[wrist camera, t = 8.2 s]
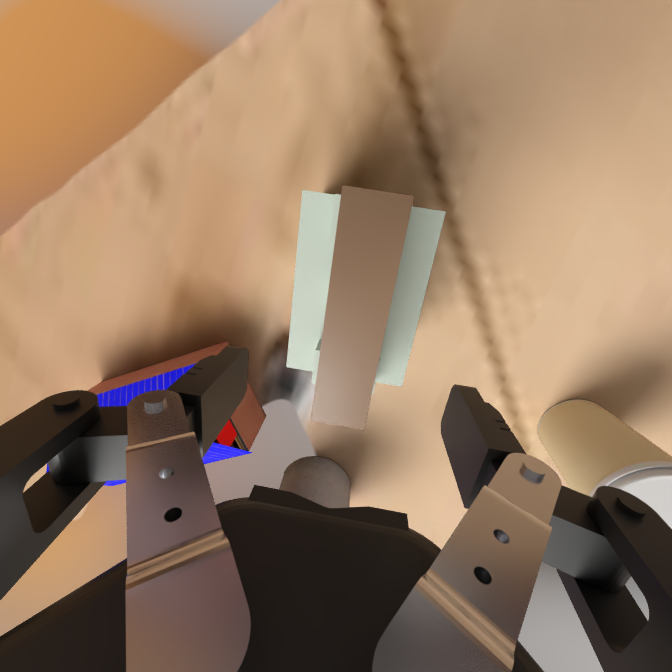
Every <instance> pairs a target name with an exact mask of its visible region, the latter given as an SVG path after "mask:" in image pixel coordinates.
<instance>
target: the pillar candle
mask: <svg viewBox="0 0 672 672" xmlns="http://www.w3.org/2000/svg"><path fill="white" fill-rule="evenodd" d="M279 490H284V491H289V492H293V493H295V494H297V495H299V496H302V497H304V498H306V499H308V500H311V501H313V502H315V503H318V504H320V505H322V506H324V507H327V508H348V507H349V500H350V480H349V477H348V475H347V474H346V473H345V472H344V470H343V469H342V468H341V467H340V466H339V465H338V464H337V463H335V462H334V461H332V460H330V459H327V458H323V457H318V456H311V457H304V458H301V459H298V460H296V461H294V462H293V463H292V464H290V465H289V466H288V467H287V468H286V470H285V472H284V476H283V479H282V482H281V485H280V488H279Z"/></svg>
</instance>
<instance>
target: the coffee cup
mask: <svg viewBox="0 0 672 672" xmlns="http://www.w3.org/2000/svg"><path fill="white" fill-rule="evenodd" d="M538 436H539V439H540V441H541V443H542V445H543V446H544V448H545V450H546V451H547V453H548V454H549V456H550V458H551V459H552V461H553V463H554V464H555V466H556V467H557V469H558V471H559V472H560V474H561V475H562V477H563V479H564V480H565V482H566V483H567V485H568V486H569V488H570V489H572V490H575V491H577V492H580V493H582V494H585V495H588V496H590V497H592V496H593V495H594V493H595V491H596V490H597V488H598V487H600V486H611V487H615V488H618V489H621V490H623V491H626V492H628V493H630V494H632V495H634V496H635V497H637V498H639V499H640V500H642V501H643V502H645V503H646V504H647V505H649V506H650V507H651V508H652V509H653V510H655V511H656V512H657V513H658V514H659V516H660V517H661V518H662V519H663V520H664V521H665V522H666V523H667V525H668V526H669V527H670V528H671V529H672V457H671V456H670V455H669V454H667V453H666V452H665V451H663V450H662V449H660V448H659V447H658V446H656V445H655V444H653V443H652V442H651V441H649V440H648V439H646V438H645V437H644V436H642V435H641V434H639V433H638V432H637V431H635V430H634V429H632V428H631V427H629V426H628V425H627V424H625V423H624V422H622V421H621V420H620V419H618V418H617V417H615V416H614V415H612V414H611V413H610V412H608V411H607V410H605V409H604V408H602V407H601V406H599V405H598V404H596V403H594V402H591V401H588V400H582V399H575V400H568V401H564V402H561V403H559V404H557V405H555V406H553V407H552V408H550V409H549V410H547V412H545V414H544V415H543V416H542V417H541V419H540V421H539V424H538Z"/></svg>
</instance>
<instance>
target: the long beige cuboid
mask: <svg viewBox="0 0 672 672" xmlns="http://www.w3.org/2000/svg"><path fill="white" fill-rule="evenodd" d="M413 199H414V196H412V195H405V194H398V193H392V192H385V191H378V190H372V189H365V188H358V187H352V186H345V185H342V192H341V199H340V207H339V214H338V221H337V229H336V236H335V244H334V251H333V259H332V266H331V274H330V281H329V289H328V296H327V303H326V311H325V318H324V326H323V333H322V341H321V348H320V356H319V363H318V370H317V378H316V385H315V393H314V400H313V408H312V415H311V421H314V422H320V423H326V424H331V425H337V426H343V427H348V428H354V429H360V430H364V428H365V423H366V418H367V414H368V409H369V404H370V400H371V395H372V390H373V386H374V381H375V376H376V372H377V367H378V362H379V358H380V353H381V348H382V344H383V339H384V334H385V330H386V325H387V320H388V316H389V311H390V306H391V302H392V297H393V292H394V288H395V283H396V278H397V273H398V269H399V264H400V259H401V255H402V250H403V245H404V241H405V236H406V231H407V227H408V222H409V217H410V213H411V208H412V203H413Z"/></svg>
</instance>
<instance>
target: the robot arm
mask: <svg viewBox="0 0 672 672" xmlns="http://www.w3.org/2000/svg"><path fill="white" fill-rule="evenodd" d="M248 358H249V353H248V349H247V348H242V347H236V346H230V345H228V346H226V347H225V348H224V349H223V350H222V351H221V352H220V353H219V354H218V355H216V356H215V355H211V356H208V357H206V358H203V359H201V360H199V361H198V362H197V363H196V364H195V365H194V366H192V368H190V369H189V370H188V371H187V372H186V374H183V375H182V376H181V377H180V378H179V379H177V380H176V381H175V382H174V383H173V384H172V385H171V386H169V387H168V388H167V389H166V390H153V391H149V392H145V393H142V394H140V395H138V396H136V397H134V398H133V399H132V400H131V401H130V402H129V403H128V405H127V406H103V407H99V402H98V397H97V395H96V394H94V393H92V392H90V391H83V390H76V391H67V392H62V393H58V394H55V395H52V396H50V397H47V398H45V399H43V400H42V401H40V402H38V403H37V404H35V405H34V406H32V407H30V408H29V409H27V410H26V411H24V412H22V413H21V414H19V415H18V416H16V417H14V418H13V419H11V420H9V421H8V422H6V423H5V424H3V425H1V426H0V600H1V599H2V598H3V597H4V596H5V595H6V593H7V592H8V591H9V590H10V589H11V588H12V587H13V585H15V583H16V582H17V581H18V580H19V579H20V578H21V577H22V576H23V574H24V573H25V572H26V571H27V570H28V569H29V568H30V567H31V565H32V564H33V563H34V562H35V561H36V560H37V559H38V558H39V557H40V555H41V554H42V553H43V552H44V551H45V550H46V549H47V548H48V546H49V545H50V544H51V543H52V542H53V541H54V540H55V539H56V537H57V536H58V535H59V534H60V533H61V532H62V531H63V530H64V529H65V527H66V526H67V525H68V524H69V523H70V522H71V521H72V520H73V518H74V517H75V516H76V515H77V514H78V513H79V512H80V511H81V509H82V508H83V507H84V506H85V505H86V504H87V503H88V502H89V501H90V499H91V498H92V497H93V496H94V495H95V494H96V492H98V490H99V489H100V488H101V487H102V486H103V485H104V484H105V483H106V481H115V480H126V509H127V558H126V559H125V560H123V561H121V562H120V563H118V564H117V565H115V566H113V567H112V568H110V569H109V570H107V571H105V572H104V573H102V574H100V575H99V576H97V577H96V578H94V579H92V580H91V581H89V582H88V583H86V584H84V585H83V586H81V587H80V588H78V589H76V590H75V591H73V592H71V593H70V594H68V595H67V596H65V597H63V598H62V599H60V600H59V601H57V602H55V603H54V604H52V605H50V606H49V607H47V608H46V609H44V610H42V611H41V612H39V613H37V614H36V615H34V616H33V617H31V618H29V619H28V620H26V621H25V622H23V623H21V624H20V625H18V626H16V627H15V628H13V629H12V630H10V631H8V632H7V633H5V634H4V635H2V636H0V672H544V671H543V670H542V669H541V668H540V666H539V665H538V664H537V663H536V662H535V660H534V659H533V658H532V657H531V656H530V655H529V653H528V652H527V651H526V649H525V648H524V647H523V646H522V645H521V643H520V642H519V641H518V637H519V634H520V630H521V627H522V624H523V621H524V617H525V614H526V611H527V608H528V605H529V601H530V598H531V595H532V592H533V588H534V585H535V582H536V579H537V576H538V572H539V569H540V566H541V563H542V562H544V563H546V564H548V565H550V566H552V567H555V568H556V569H557V572H558V574H559V576H560V578H561V580H562V582H563V584H564V587H565V589H566V591H567V593H568V595H569V597H570V600H571V602H572V604H573V606H574V608H575V610H576V612H577V614H578V617H579V619H580V621H581V623H582V625H583V628H584V630H585V632H586V634H587V636H588V638H589V640H590V642H591V645H592V647H593V649H594V651H595V653H596V655H597V658H598V660H599V662H600V664H601V666H602V668H603V670H604V672H672V529H671V528H670V527H669V526H668V525H667V523H666V522H665V521H664V520H663V519H662V518H661V517H660V516H659V514H658V513H657V512H656V511H655V510H653V509H652V508H651V507H650V506H649V505H647V504H646V503H645V502H643V501H642V500H640V499H639V498H637V497H635V496H634V495H632V494H630V493H628V492H626V491H623V490H621V489H618V488H615V487H611V486H600V487H598V488H597V490H596V491H595V493H594V495H593V496H592V497H590V496H588V495H585V494H582V493H580V492H577V491H575V490H572V489H570V488H567V487H565V486H562V484H561V480H560V478H559V476H558V475H557V474H556V472H555V471H554V470H553V469H552V468H550V467H549V466H548V465H547V464H545V463H544V462H542V461H540V460H539V459H537V458H535V457H532V456H530V455H527V454H526V453H525V451H524V450H523V448H522V447H521V445H520V443H519V442H518V440H517V439H516V437H515V436H514V434H513V433H512V432H511V431H510V430H511V429H510V428H509V426H508V425H507V424H506V423H505V420H504V419H503V417H502V415H501V414H500V412H499V411H497V410H496V409H495V408H494V407H493V406H491V405H490V404H489V403H485V402H484V401H483V399H482V397H481V396H480V394H479V392H478V390H477V389H476V388H474V387H468V386H462V385H456V384H455V385H454V386H453V387H452V389H451V392H450V395H449V398H448V401H447V404H446V407H445V411H444V414H443V417H442V421H441V435H442V438H443V441H444V444H445V448H446V451H447V454H448V457H449V460H450V463H451V466H452V470H453V473H454V476H455V479H456V482H457V485H458V488H459V492H460V495H461V498H462V501H463V504H464V507H465V508H468V511H467V512H466V514H465V515H464V517H463V518H462V520H461V521H460V523H459V524H458V526H457V527H456V529H455V531H454V532H453V534H452V535H451V537H450V538H449V540H448V541H447V543H446V544H445V546H444V547H443V549H442V550H441V549H440V548H439V547H438V546H436V545H435V544H434V543H433V542H432V541H430V540H429V539H427V538H426V537H424V536H423V535H421V534H420V533H418V532H416V531H414V530H412V529H410V528H409V527H408V519H407V514H405V513H400V512H395V511H389V510H384V509H379V508H374V507H348V508H327V507H324V506H322V505H320V504H318V503H315V502H313V501H311V500H308V499H306V498H304V497H302V496H299V495H297V494H295V493H293V492H289V491H284V490H278V489H273V488H268V487H263V486H257V485H254V487H253V489H252V492H251V494H250V496H249V497H248V498H238V499H233V500H229V501H225V502H222V503H219V504H217V505H215V502H214V498H213V495H212V492H211V488H210V484H209V481H208V477H207V474H206V470H205V467H204V463H203V460H202V458H203V457H204V456H205V454H206V453H207V451H208V450H209V448H210V447H211V445H212V444H213V442H214V441H215V439H216V438H217V437H218V435H219V434H220V432H221V431H222V429H223V428H224V426H225V425H226V423H227V422H228V420H229V419H230V417H231V416H232V415H233V413H234V412H235V410H236V409H237V407H238V406H239V404H240V403H241V401H242V400H243V398H244V396H245V393H246V390H247V383H248ZM46 463H48V466H49V471H48V472H47V473H46V474H45V475H43V476H42V477H41V478H40V479H39V480H38V481H37V482H35V483H34V484H33V485H32V486H31V487H30V488H28V489H27V490H26V491H25V492H24V493H23V490H24V487H25V485H26V483H27V482H28V480H29V479H30V478H31V476H32V475H33V474H35V473H36V472H37V471H38V470H39V469H40V468H42V467H43V466H44V465H45V464H46ZM631 576H632V578H633V579H634V581H635V582H636V584H637V585H638V587H639V588H640V590H641V591H642V593H643V595H644V596H645V598H646V601H647V603H648V607H649V620H648V621H647V619H646V617H645V616H644V614H643V613H642V611H641V609H640V608H639V606H638V605H637V603H636V602H635V600H634V598H633V597H632V595H631V594H630V592H629V590H628V589H627V587H626V586H625V584H626V582H627V581H628V580H629V578H630V577H631Z"/></svg>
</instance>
